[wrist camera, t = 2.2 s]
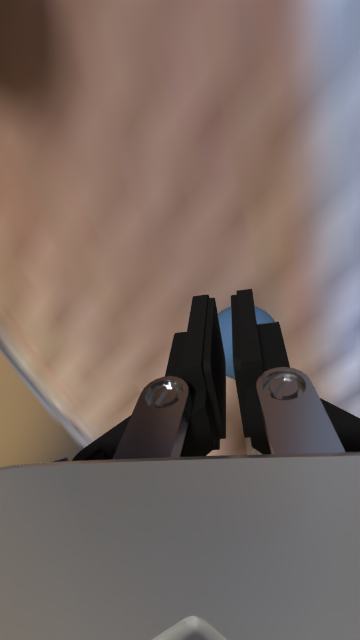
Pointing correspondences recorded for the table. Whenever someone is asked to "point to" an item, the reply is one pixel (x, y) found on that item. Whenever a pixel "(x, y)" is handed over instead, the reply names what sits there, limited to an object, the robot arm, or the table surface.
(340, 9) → the table surface
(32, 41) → the table surface
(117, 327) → the table surface
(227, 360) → the ball
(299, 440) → the robot arm
